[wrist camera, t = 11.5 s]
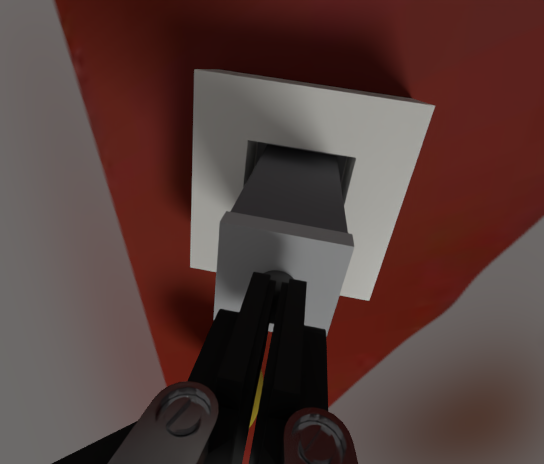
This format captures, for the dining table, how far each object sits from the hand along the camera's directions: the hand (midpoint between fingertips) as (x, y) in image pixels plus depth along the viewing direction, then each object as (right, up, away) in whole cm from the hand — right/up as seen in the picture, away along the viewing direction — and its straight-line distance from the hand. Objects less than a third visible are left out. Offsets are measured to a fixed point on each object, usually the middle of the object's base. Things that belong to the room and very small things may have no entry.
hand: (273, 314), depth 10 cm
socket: (+2, +6, +11) cm, 12 cm away
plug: (+1, +6, +9) cm, 11 cm away
